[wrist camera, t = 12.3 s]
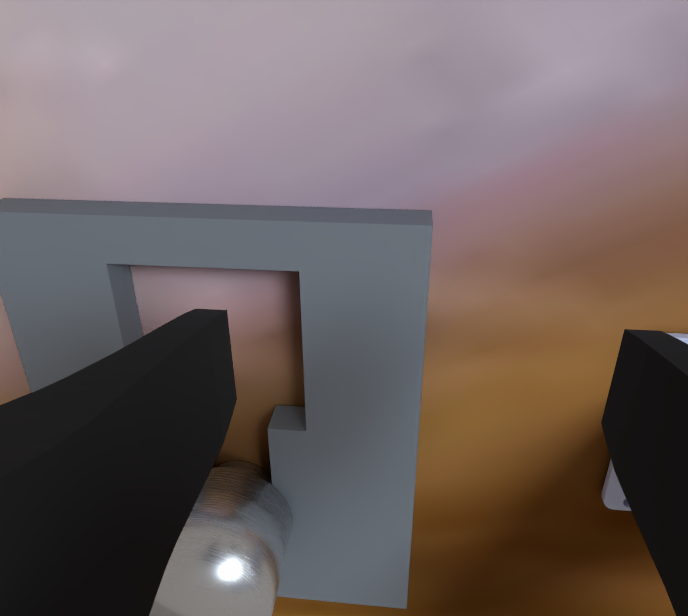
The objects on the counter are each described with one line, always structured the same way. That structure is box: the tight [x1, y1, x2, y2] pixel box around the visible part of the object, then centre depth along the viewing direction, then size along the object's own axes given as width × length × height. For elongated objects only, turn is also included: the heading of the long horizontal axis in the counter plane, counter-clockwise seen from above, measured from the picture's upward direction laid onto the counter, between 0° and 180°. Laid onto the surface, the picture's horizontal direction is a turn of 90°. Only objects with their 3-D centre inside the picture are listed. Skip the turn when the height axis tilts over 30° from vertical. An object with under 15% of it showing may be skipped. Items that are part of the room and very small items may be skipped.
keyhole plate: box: [0, 198, 433, 609], centre depth 23 cm, size 15×18×2 cm
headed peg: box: [149, 461, 293, 616], centre depth 23 cm, size 5×5×6 cm
